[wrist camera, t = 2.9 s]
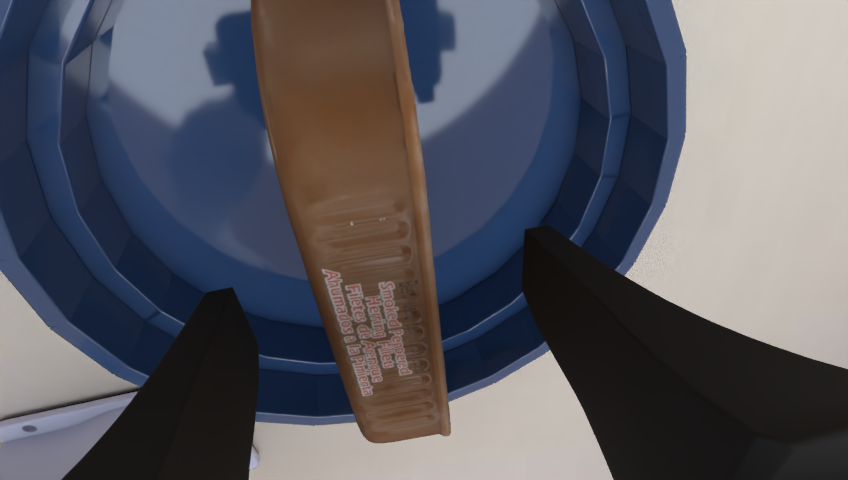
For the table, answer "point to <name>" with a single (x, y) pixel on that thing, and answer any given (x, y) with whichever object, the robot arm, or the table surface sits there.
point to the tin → (357, 200)
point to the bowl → (260, 190)
